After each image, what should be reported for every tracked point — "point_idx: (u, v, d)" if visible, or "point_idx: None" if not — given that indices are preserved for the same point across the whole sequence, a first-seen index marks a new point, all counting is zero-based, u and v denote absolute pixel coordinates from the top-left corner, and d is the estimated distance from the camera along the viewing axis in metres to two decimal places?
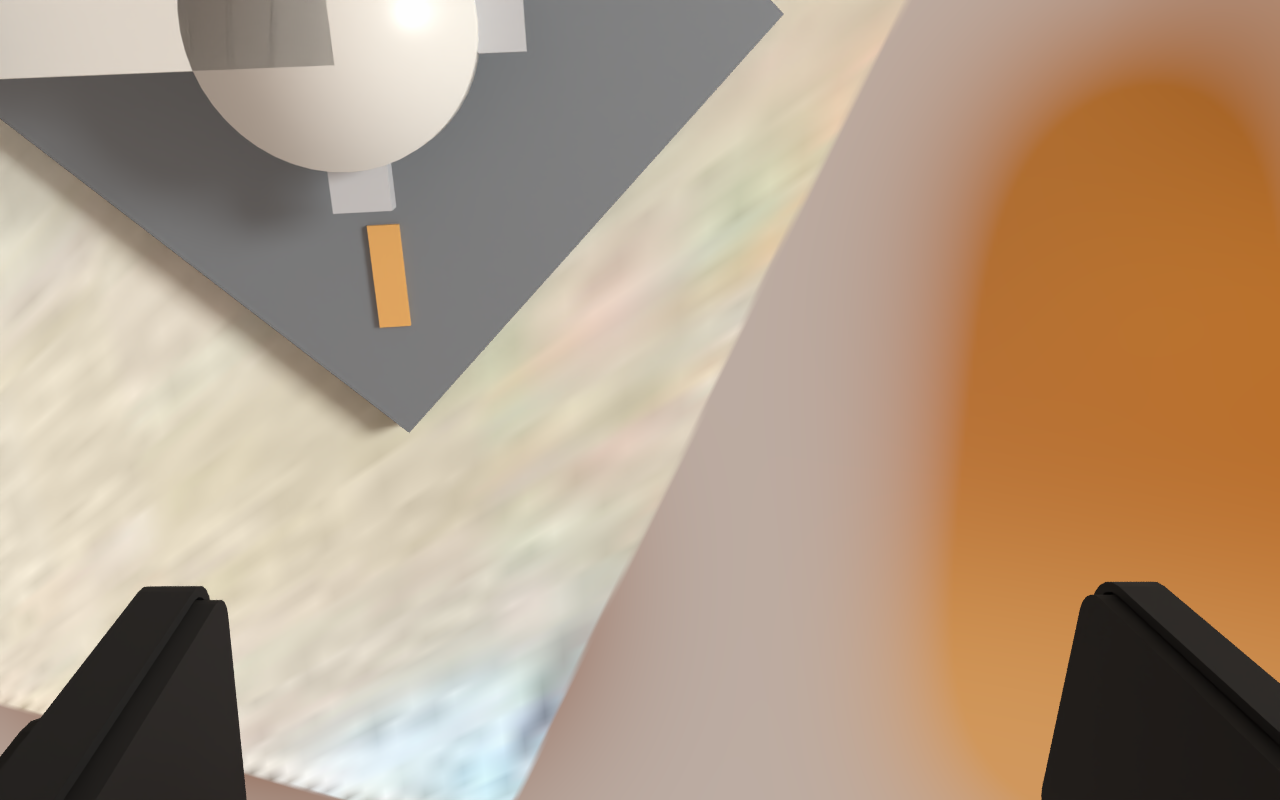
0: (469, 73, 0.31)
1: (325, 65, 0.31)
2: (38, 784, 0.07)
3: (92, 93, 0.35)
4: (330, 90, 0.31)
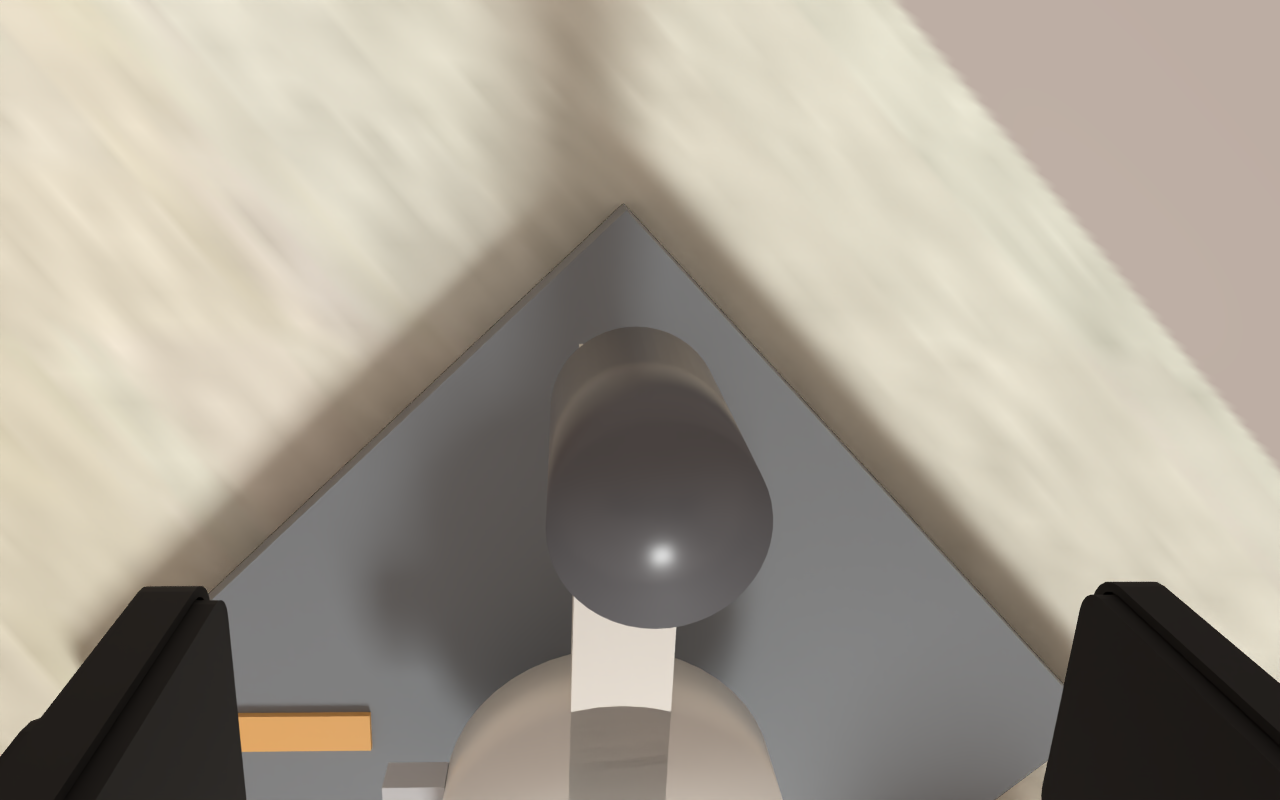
0: None
1: None
2: (39, 784, 0.07)
3: None
4: None
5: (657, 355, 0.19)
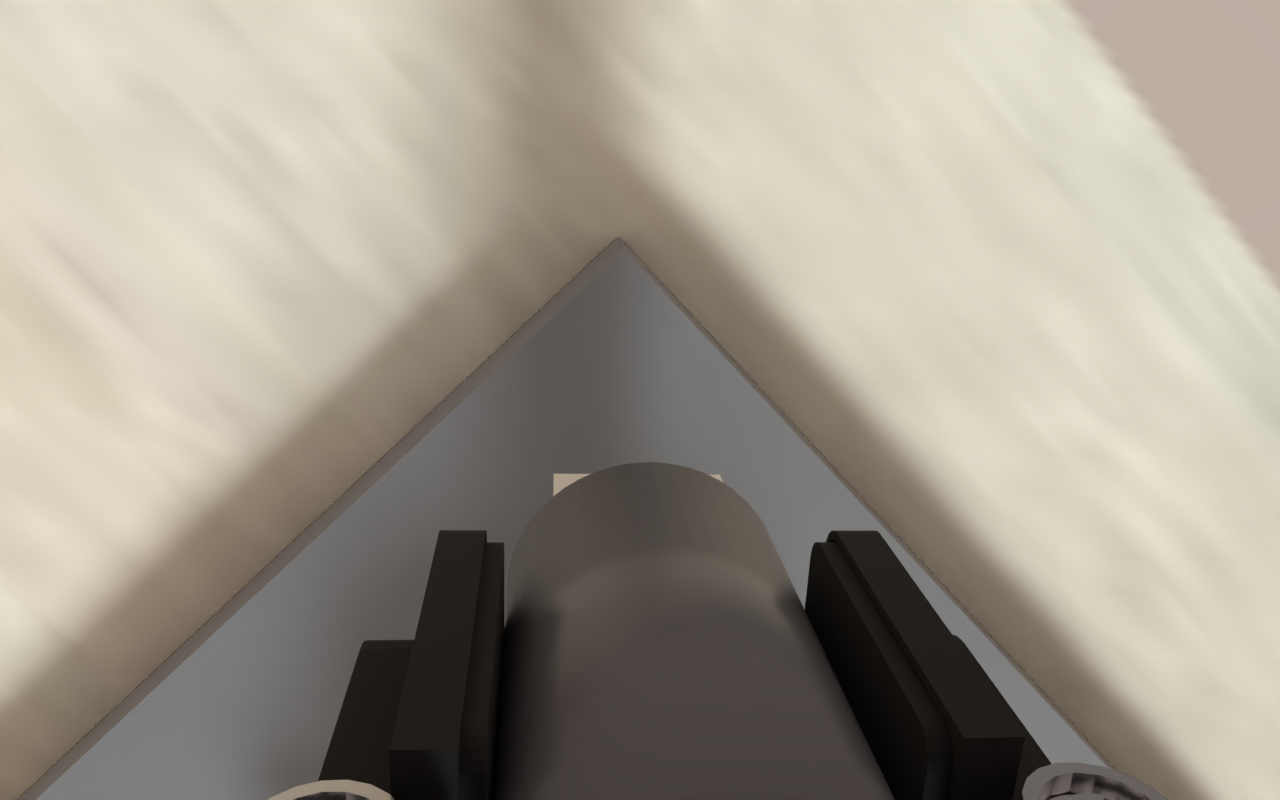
0: None
1: None
2: (446, 676, 0.08)
3: None
4: None
5: (690, 542, 0.10)
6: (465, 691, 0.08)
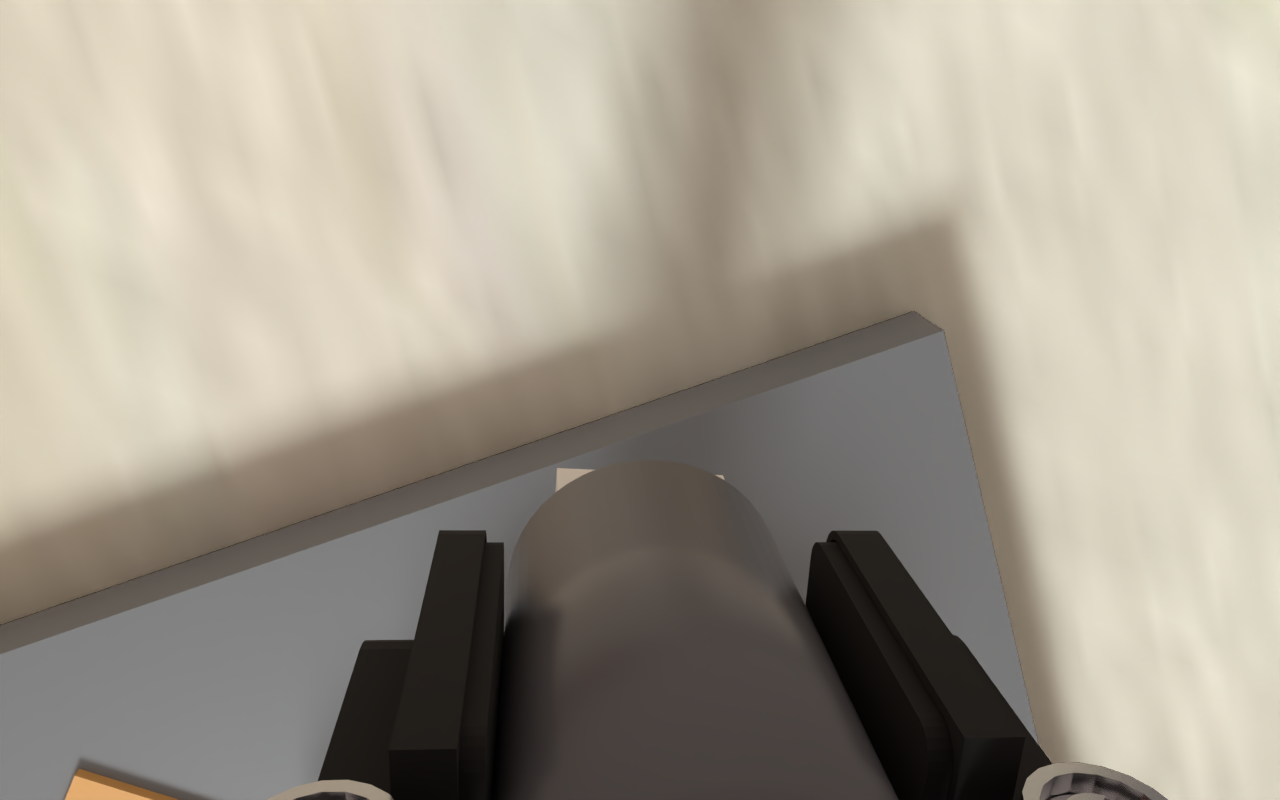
0: None
1: None
2: (446, 675, 0.08)
3: None
4: None
5: (698, 541, 0.10)
6: (464, 691, 0.08)
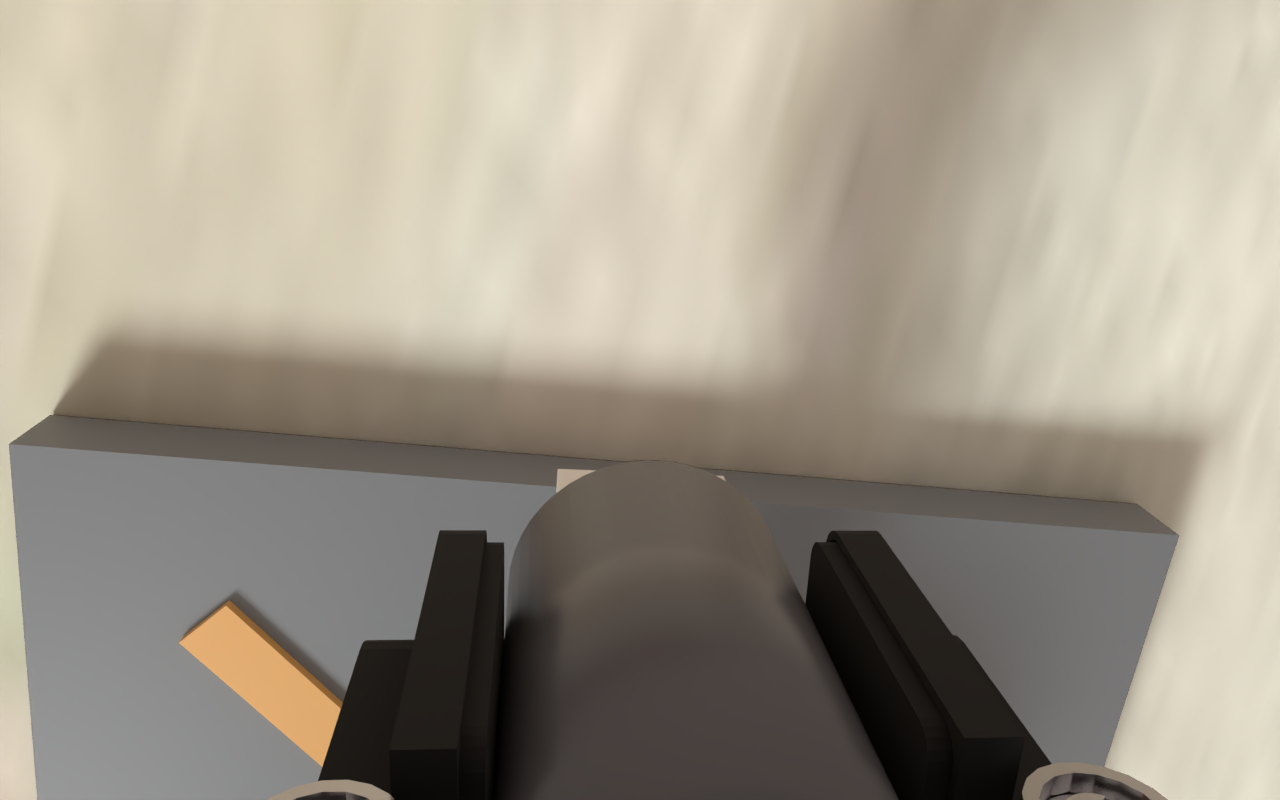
0: None
1: None
2: (446, 676, 0.08)
3: None
4: None
5: (698, 541, 0.10)
6: (464, 692, 0.08)
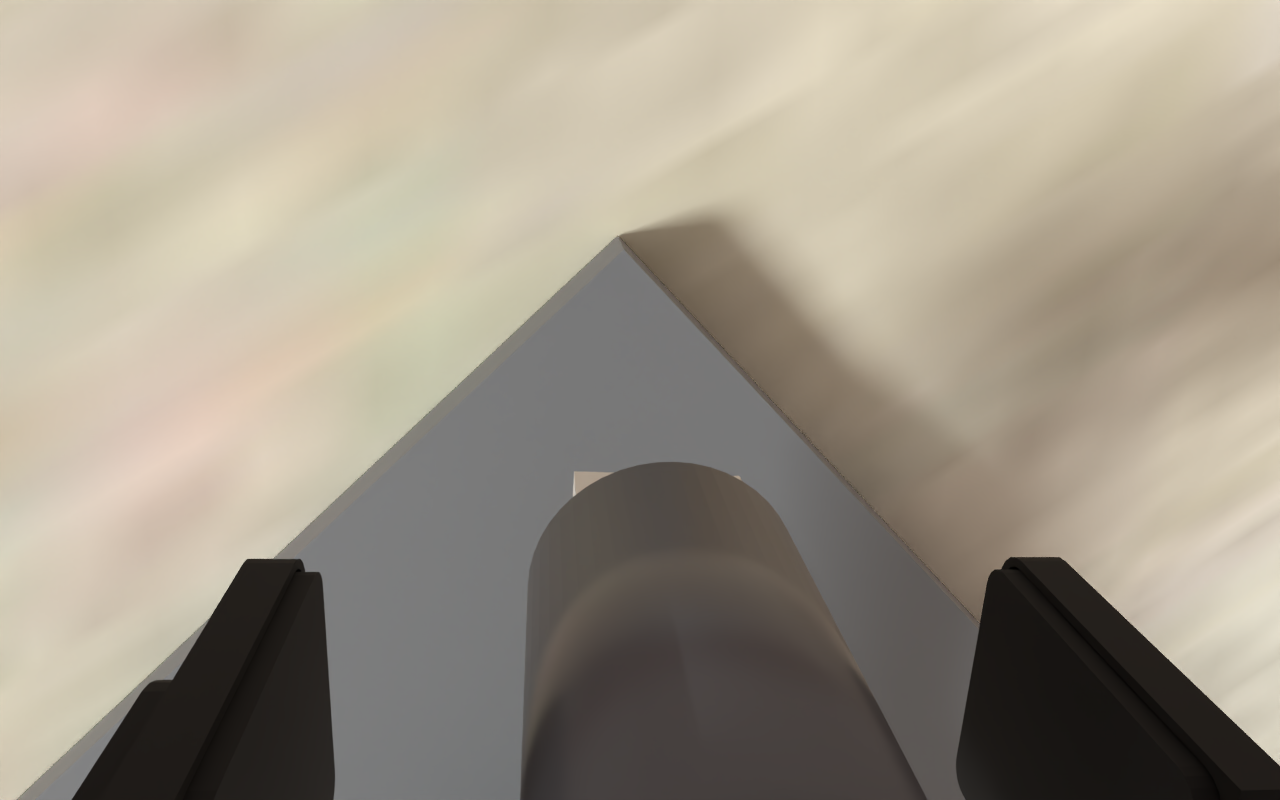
0: None
1: None
2: (186, 731, 0.07)
3: None
4: None
5: (719, 542, 0.10)
6: (200, 749, 0.07)
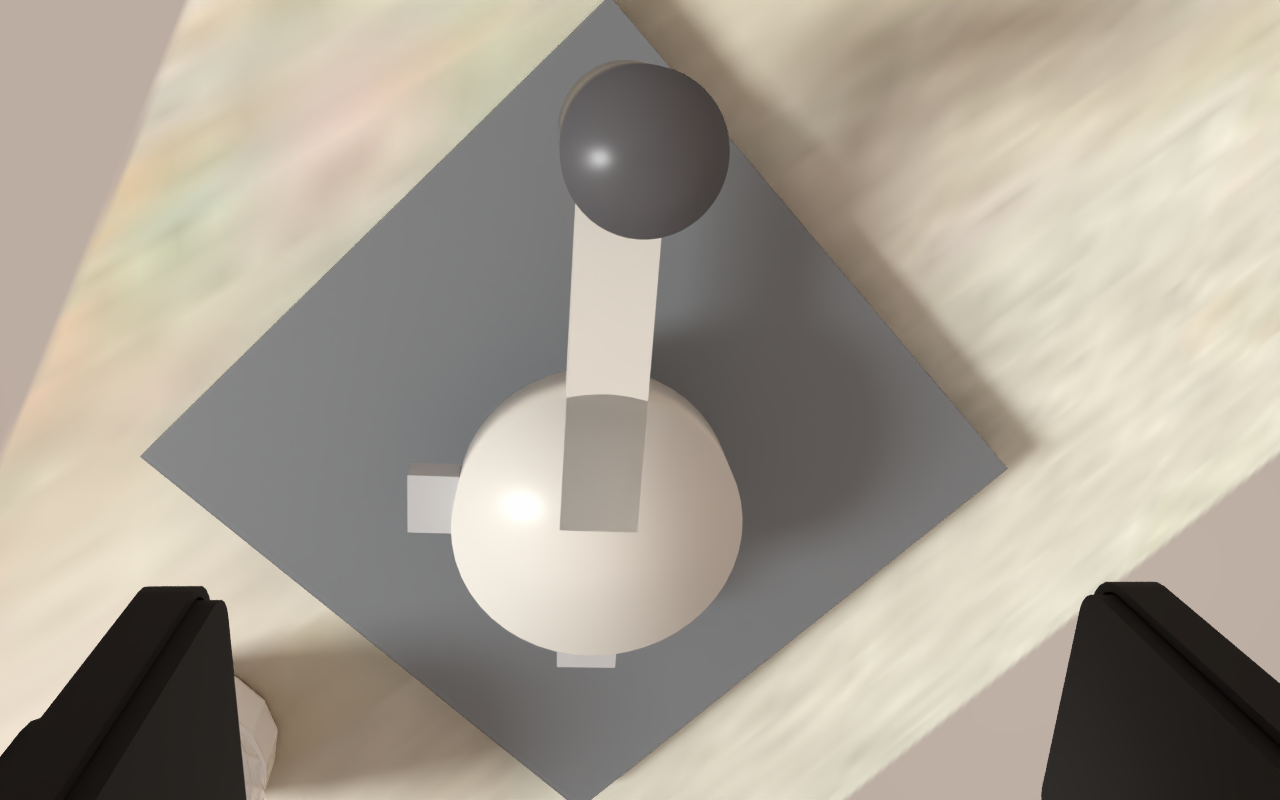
0: (540, 644, 0.32)
1: (559, 521, 0.30)
2: (38, 784, 0.07)
3: (860, 421, 0.36)
4: (535, 522, 0.30)
5: None
6: None
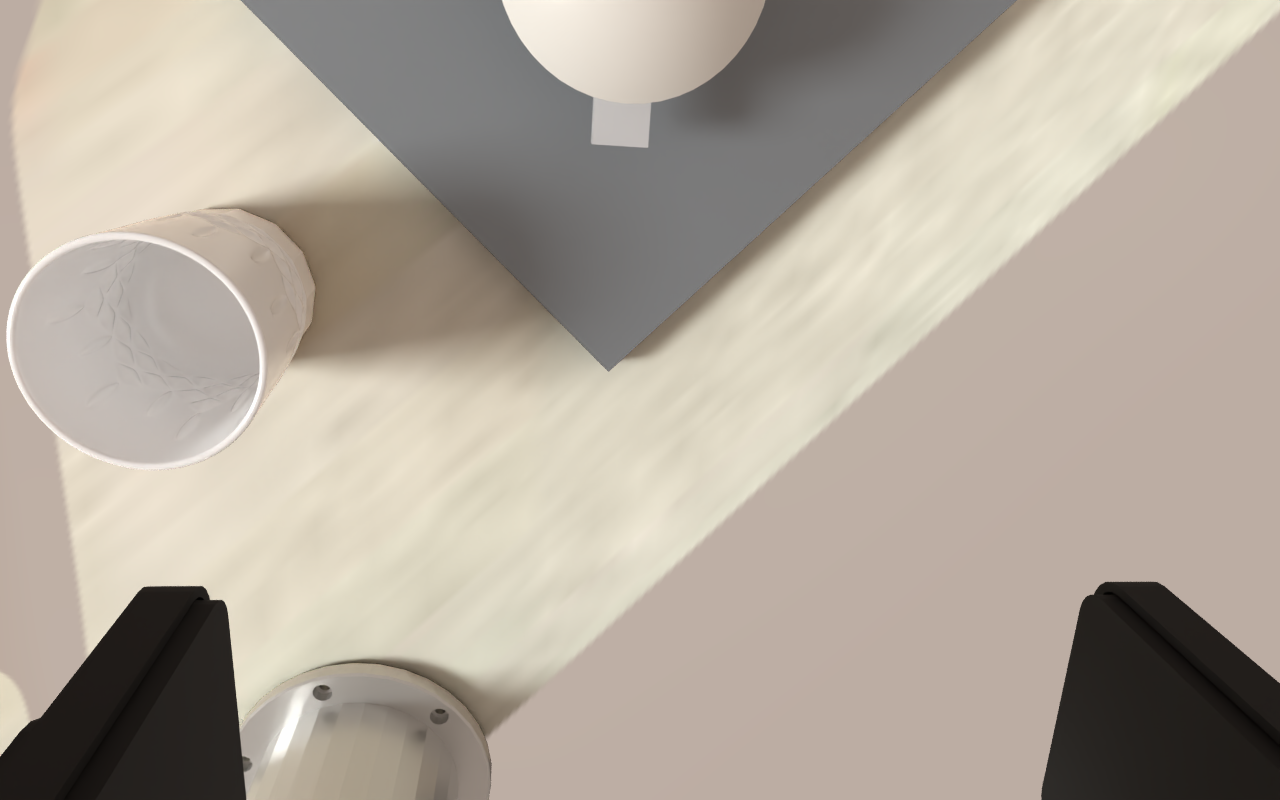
0: (578, 90, 0.33)
1: None
2: (39, 784, 0.07)
3: None
4: None
5: None
6: None
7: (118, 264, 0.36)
